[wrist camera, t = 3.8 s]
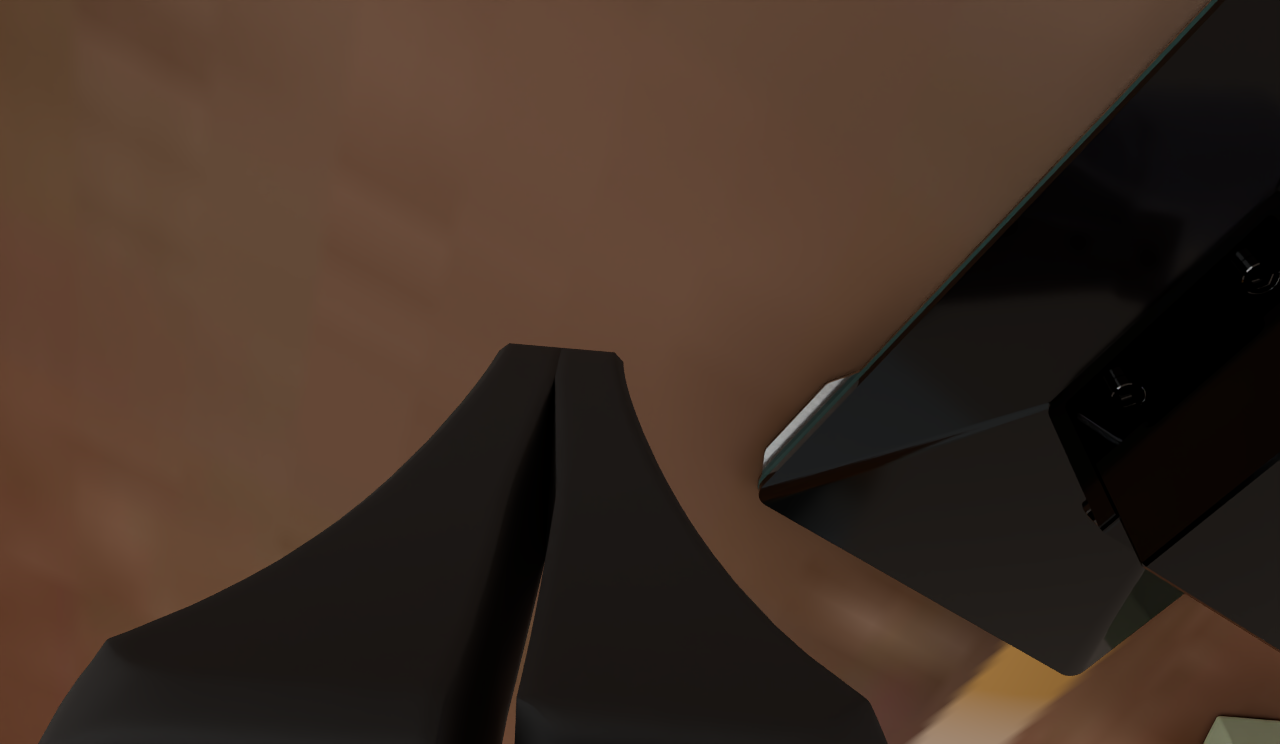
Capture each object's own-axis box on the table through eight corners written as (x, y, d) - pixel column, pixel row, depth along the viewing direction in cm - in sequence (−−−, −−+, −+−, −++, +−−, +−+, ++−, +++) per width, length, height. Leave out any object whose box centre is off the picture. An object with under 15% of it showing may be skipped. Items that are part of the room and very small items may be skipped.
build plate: (1065, 661, 21) (1148, 901, 17) (736, 471, 19) (747, 695, 15) (1768, 118, 15) (2130, 298, 12) (1403, -239, 13) (1693, -166, 9)
